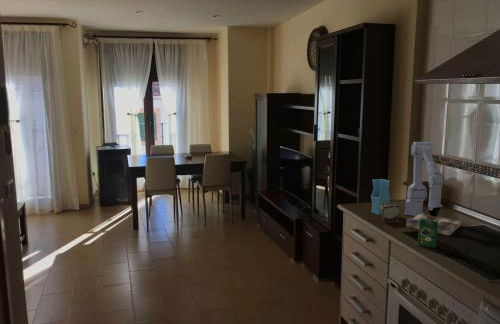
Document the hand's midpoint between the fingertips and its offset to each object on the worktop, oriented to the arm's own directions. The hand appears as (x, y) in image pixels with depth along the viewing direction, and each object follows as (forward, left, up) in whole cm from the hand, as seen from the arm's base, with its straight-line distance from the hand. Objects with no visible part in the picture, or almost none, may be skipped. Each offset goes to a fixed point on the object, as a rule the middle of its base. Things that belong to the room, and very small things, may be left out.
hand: (433, 220), depth 227 cm
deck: (0, +1, -3) cm, 4 cm away
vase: (-33, +7, -4) cm, 34 cm away
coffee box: (+7, -33, -4) cm, 34 cm away
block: (0, -3, -1) cm, 4 cm away
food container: (-23, -6, -4) cm, 24 cm away
